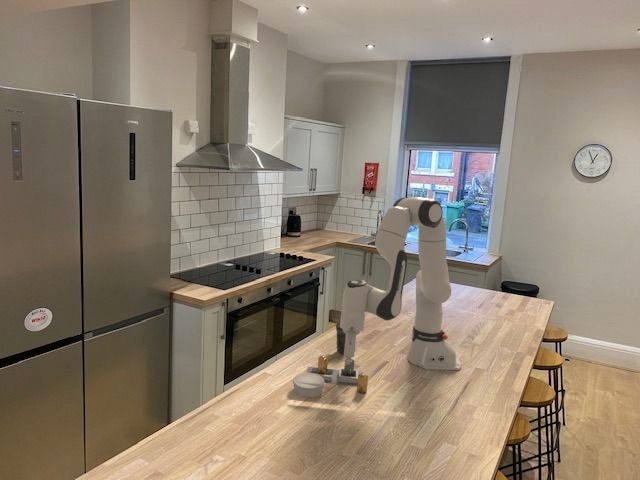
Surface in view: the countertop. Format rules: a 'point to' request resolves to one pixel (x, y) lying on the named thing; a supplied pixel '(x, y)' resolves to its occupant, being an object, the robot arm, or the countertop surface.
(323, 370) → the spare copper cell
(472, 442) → the countertop surface
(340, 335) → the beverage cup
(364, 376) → the copper cell
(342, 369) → the gray slab
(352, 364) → the cylinder
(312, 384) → the ramekin
